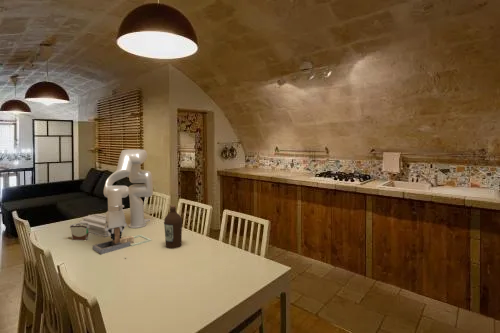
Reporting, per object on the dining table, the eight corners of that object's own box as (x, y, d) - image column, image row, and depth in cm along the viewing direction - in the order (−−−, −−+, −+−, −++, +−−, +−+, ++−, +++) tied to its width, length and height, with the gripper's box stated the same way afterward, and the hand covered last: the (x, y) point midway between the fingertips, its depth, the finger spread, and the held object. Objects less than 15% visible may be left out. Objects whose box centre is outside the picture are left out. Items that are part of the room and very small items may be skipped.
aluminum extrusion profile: (104, 238, 188) (104, 223, 187) (79, 230, 203) (78, 217, 202) (124, 232, 200) (123, 218, 199) (98, 225, 216) (98, 212, 215)
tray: (140, 237, 187) (140, 234, 187) (151, 242, 178) (151, 239, 178) (121, 242, 178) (120, 239, 177) (131, 248, 169) (131, 245, 168)
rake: (116, 244, 172) (115, 225, 171) (121, 247, 167) (121, 228, 166) (111, 245, 170) (110, 226, 169) (116, 248, 165) (116, 229, 164)
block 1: (124, 243, 174) (123, 236, 174) (127, 244, 171) (126, 238, 171) (117, 244, 171) (117, 238, 171) (120, 246, 168) (120, 239, 168)
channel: (121, 243, 177) (121, 237, 176) (130, 247, 169) (130, 241, 169) (92, 251, 164) (92, 244, 164) (101, 256, 157) (100, 249, 156)
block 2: (130, 242, 177) (131, 235, 177) (133, 243, 175) (134, 237, 175) (124, 242, 174) (124, 236, 174) (127, 244, 171) (128, 237, 172)
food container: (94, 237, 188) (93, 222, 187) (88, 240, 182) (87, 225, 181) (77, 236, 189) (76, 222, 188) (70, 239, 183) (69, 224, 182)
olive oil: (173, 241, 180) (172, 203, 178) (186, 244, 175) (185, 205, 173) (160, 246, 171) (159, 206, 169) (173, 250, 166) (172, 208, 164)
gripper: (125, 205, 175) (126, 234, 177) (98, 209, 163) (99, 240, 164) (131, 207, 170) (132, 236, 172) (103, 212, 158) (104, 243, 160)
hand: (116, 238), depth 168 cm, fingers closed on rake, 3 cm apart
